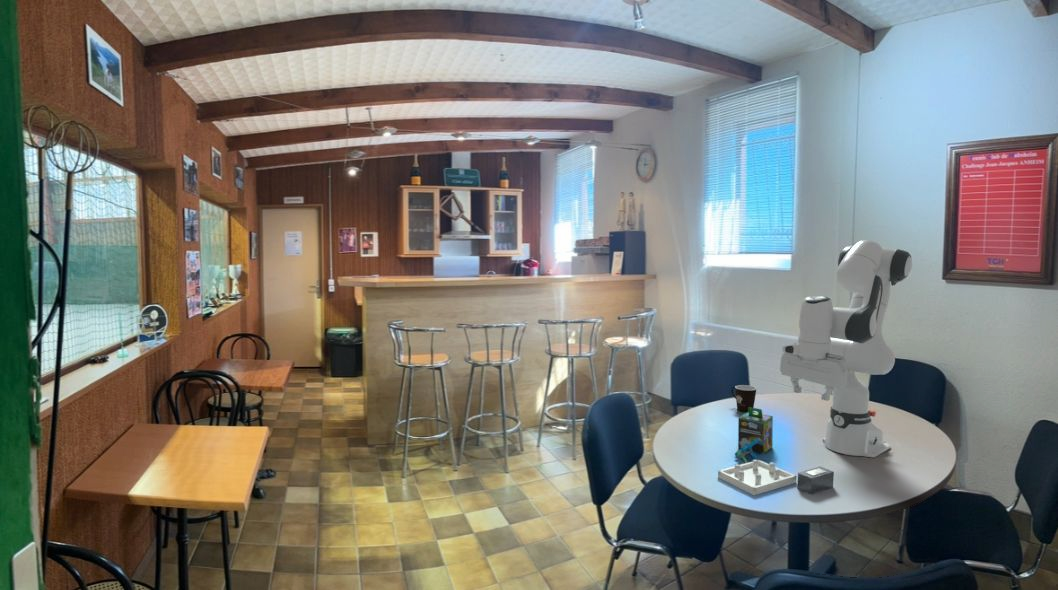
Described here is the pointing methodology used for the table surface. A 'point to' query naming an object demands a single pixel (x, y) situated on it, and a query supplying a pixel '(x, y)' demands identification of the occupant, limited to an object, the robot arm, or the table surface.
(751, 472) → the holder tray
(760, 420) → the chalk box
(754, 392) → the coffee mug
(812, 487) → the block
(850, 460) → the table surface
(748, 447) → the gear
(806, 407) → the table surface
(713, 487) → the table surface
